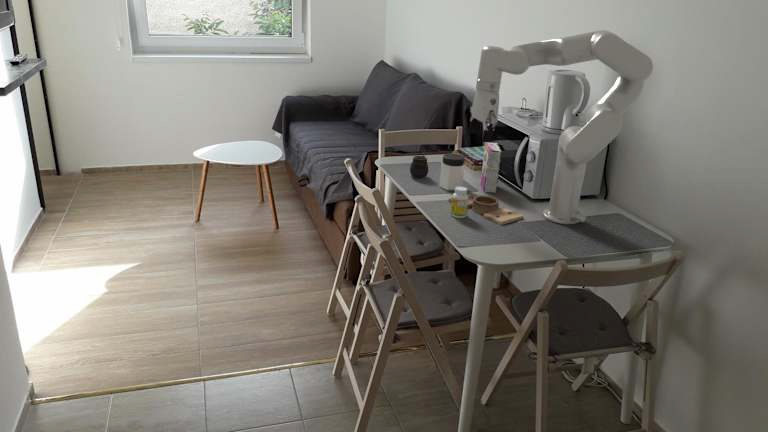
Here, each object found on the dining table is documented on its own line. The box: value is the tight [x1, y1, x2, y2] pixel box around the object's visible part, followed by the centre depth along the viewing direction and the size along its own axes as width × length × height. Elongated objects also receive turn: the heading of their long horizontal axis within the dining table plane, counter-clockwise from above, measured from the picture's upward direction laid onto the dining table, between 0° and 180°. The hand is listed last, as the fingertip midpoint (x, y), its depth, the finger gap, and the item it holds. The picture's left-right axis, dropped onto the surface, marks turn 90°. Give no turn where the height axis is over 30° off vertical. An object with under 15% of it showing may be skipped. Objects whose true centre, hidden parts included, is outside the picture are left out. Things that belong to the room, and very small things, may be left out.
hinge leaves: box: [448, 192, 524, 226], centre depth 220 cm, size 25×11×4 cm, turn 39°
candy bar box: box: [480, 142, 502, 194], centre depth 239 cm, size 11×5×16 cm, turn 179°
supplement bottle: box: [450, 186, 468, 219], centre depth 213 cm, size 5×5×10 cm
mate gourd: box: [409, 149, 429, 179], centre depth 248 cm, size 7×8×10 cm
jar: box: [438, 153, 466, 191], centre depth 238 cm, size 9×8×12 cm
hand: (479, 137), depth 211 cm, fingers open, 9 cm apart
